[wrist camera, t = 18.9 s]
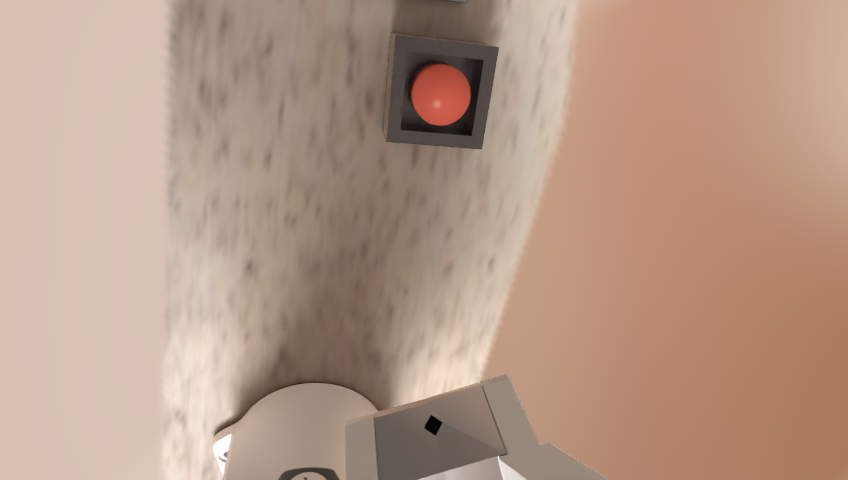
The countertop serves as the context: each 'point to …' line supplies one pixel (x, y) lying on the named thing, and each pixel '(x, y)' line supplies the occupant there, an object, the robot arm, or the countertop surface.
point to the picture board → (463, 0)
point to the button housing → (461, 55)
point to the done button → (439, 93)
